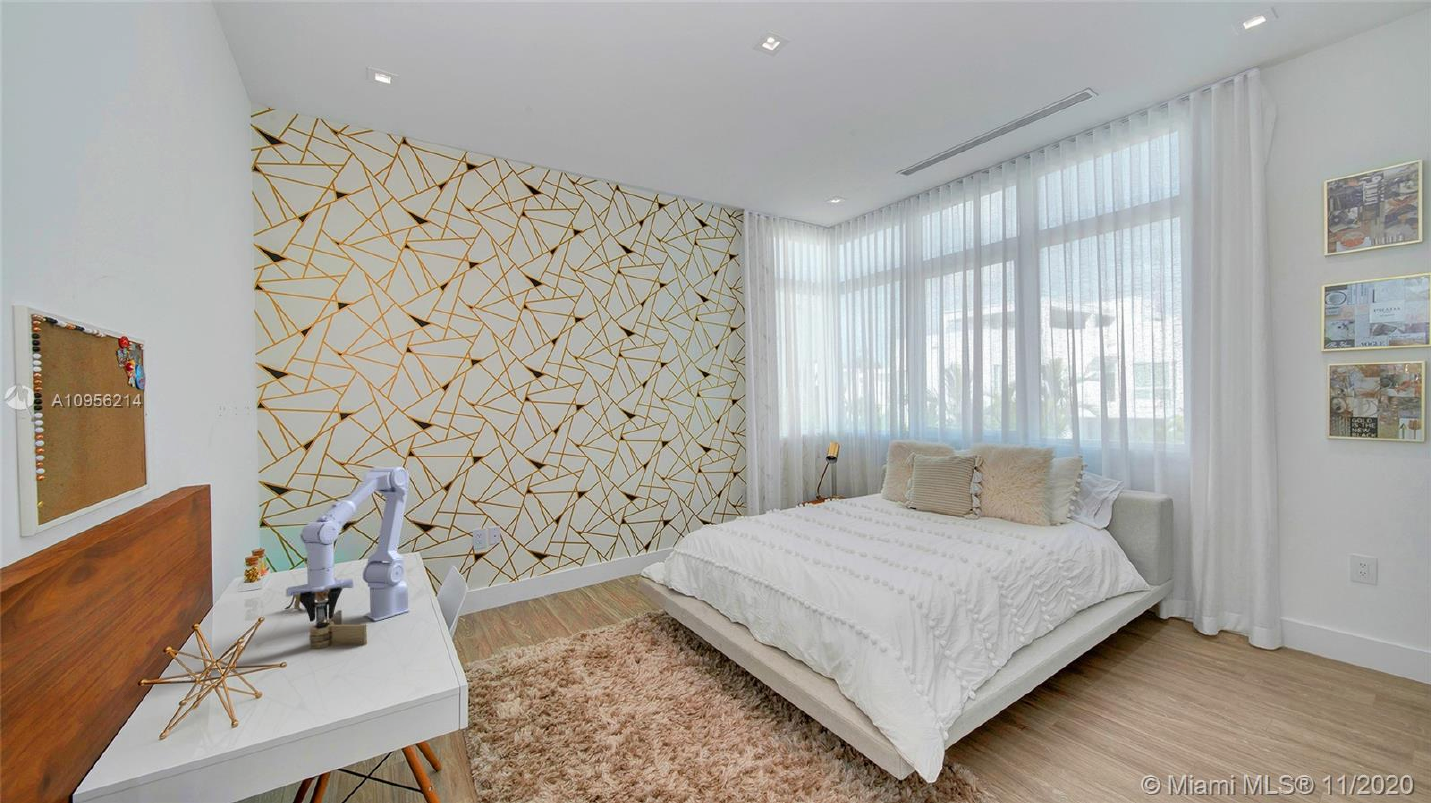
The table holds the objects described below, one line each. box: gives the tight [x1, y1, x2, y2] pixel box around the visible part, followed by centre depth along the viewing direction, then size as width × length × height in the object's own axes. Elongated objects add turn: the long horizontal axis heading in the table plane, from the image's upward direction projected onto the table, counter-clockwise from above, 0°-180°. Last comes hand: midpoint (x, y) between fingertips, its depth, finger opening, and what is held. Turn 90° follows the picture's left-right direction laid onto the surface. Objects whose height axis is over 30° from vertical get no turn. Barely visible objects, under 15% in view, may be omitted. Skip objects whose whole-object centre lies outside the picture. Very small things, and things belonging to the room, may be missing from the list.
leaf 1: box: [309, 609, 343, 642], centre depth 147 cm, size 14×5×4 cm, turn 16°
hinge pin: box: [313, 599, 329, 628], centre depth 142 cm, size 4×4×6 cm
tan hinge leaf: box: [309, 621, 368, 650], centre depth 142 cm, size 14×5×5 cm, turn 86°
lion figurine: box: [284, 577, 338, 612], centre depth 168 cm, size 15×5×9 cm, turn 104°
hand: (321, 618), depth 142 cm, fingers closed on hinge pin, 3 cm apart
